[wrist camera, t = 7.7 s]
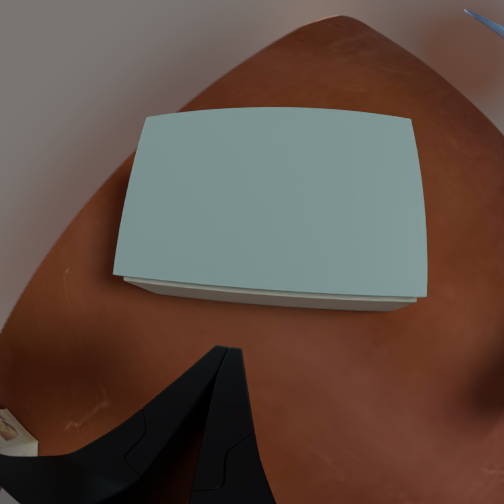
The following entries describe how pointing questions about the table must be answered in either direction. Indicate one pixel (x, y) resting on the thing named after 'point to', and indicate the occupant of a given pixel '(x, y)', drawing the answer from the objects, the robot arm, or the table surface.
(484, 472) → the table surface
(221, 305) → the table surface
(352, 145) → the box lid
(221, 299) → the cream box
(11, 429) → the coffeecake box
